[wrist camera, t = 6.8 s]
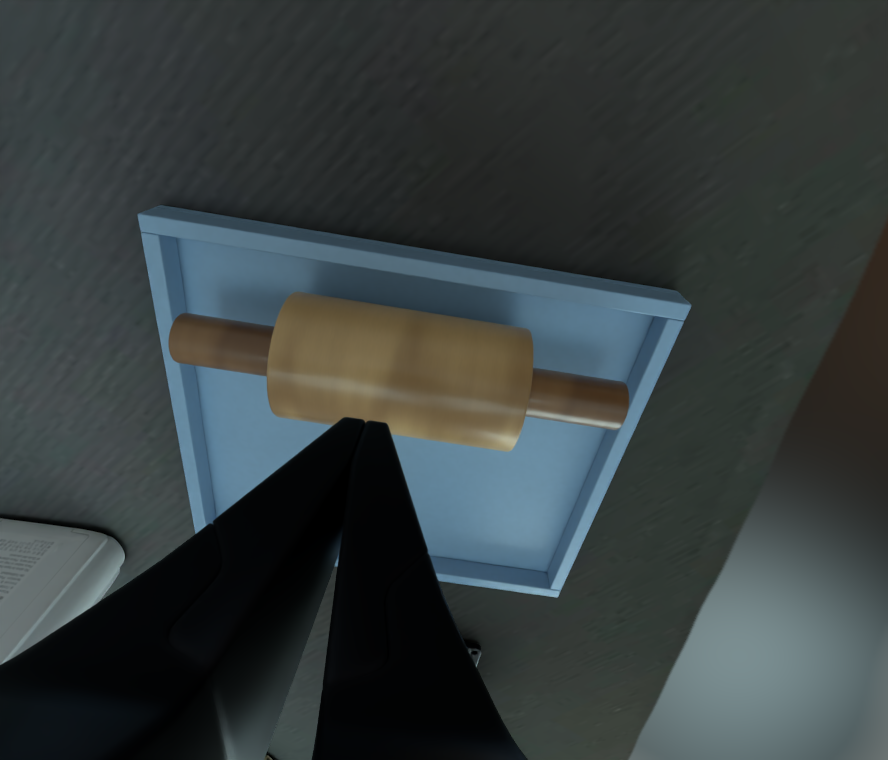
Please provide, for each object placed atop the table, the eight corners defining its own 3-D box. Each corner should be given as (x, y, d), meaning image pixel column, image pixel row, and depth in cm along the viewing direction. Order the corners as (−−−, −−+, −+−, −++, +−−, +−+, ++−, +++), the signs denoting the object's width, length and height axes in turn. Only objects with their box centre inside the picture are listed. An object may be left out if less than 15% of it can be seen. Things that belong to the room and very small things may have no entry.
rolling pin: (587, 418, 23) (613, 494, 18) (217, 361, 22) (156, 426, 18) (623, 324, 20) (664, 387, 16) (205, 256, 19) (130, 303, 15)
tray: (554, 574, 30) (557, 598, 28) (210, 526, 29) (197, 547, 28) (677, 290, 20) (692, 305, 18) (160, 204, 19) (136, 213, 18)
